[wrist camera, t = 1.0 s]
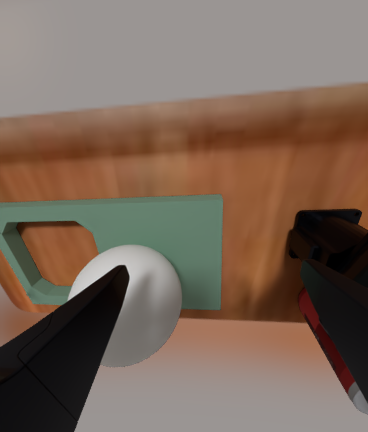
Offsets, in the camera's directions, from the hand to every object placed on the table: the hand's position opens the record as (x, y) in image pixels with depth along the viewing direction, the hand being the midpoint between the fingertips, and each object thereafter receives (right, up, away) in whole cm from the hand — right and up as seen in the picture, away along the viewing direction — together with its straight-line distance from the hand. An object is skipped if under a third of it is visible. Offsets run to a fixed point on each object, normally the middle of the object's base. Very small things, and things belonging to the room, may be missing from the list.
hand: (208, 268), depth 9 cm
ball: (-7, -6, +9) cm, 13 cm away
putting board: (-11, -3, +17) cm, 20 cm away
